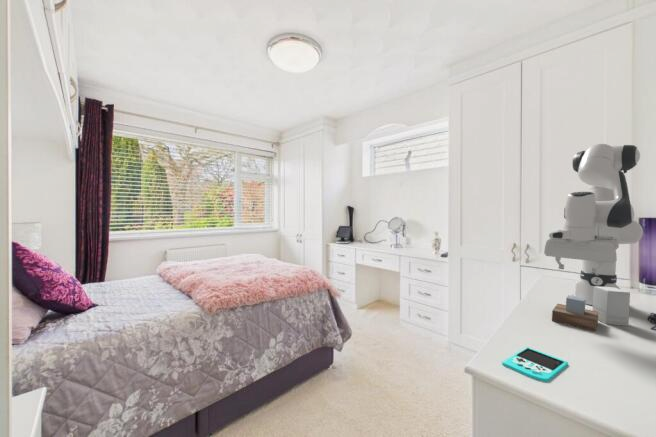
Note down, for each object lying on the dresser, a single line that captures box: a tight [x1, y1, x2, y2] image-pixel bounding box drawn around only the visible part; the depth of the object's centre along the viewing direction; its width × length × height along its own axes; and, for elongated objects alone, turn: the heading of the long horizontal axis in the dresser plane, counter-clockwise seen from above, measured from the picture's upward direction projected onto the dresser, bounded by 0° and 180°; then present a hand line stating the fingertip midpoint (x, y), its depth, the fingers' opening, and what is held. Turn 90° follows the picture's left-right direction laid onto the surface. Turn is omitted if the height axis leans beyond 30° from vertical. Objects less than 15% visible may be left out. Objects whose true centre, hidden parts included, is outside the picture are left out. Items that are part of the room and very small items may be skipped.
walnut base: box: [551, 303, 599, 332], centre depth 105 cm, size 12×12×4 cm
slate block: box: [565, 295, 586, 315], centre depth 105 cm, size 5×5×5 cm
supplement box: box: [592, 286, 631, 327], centre depth 106 cm, size 7×7×13 cm
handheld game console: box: [501, 346, 569, 382], centre depth 75 cm, size 10×16×1 cm, turn 124°
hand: (577, 271), depth 105 cm, fingers open, 8 cm apart
